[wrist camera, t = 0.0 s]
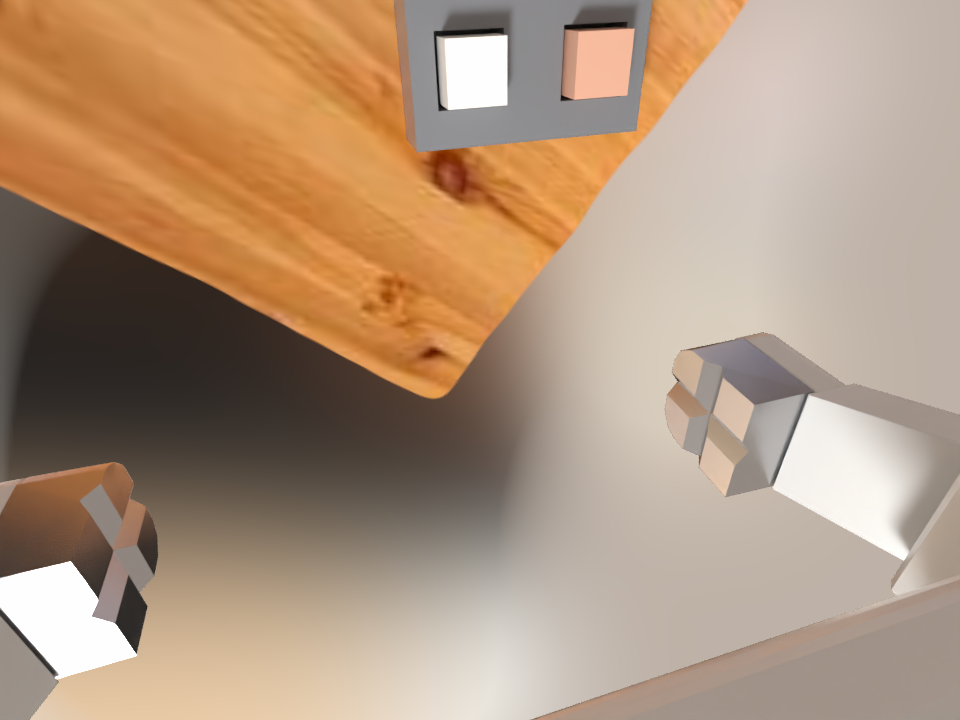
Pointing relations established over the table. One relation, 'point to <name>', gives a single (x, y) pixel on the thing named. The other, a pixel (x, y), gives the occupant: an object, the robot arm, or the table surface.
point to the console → (514, 70)
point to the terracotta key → (596, 62)
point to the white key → (472, 70)
